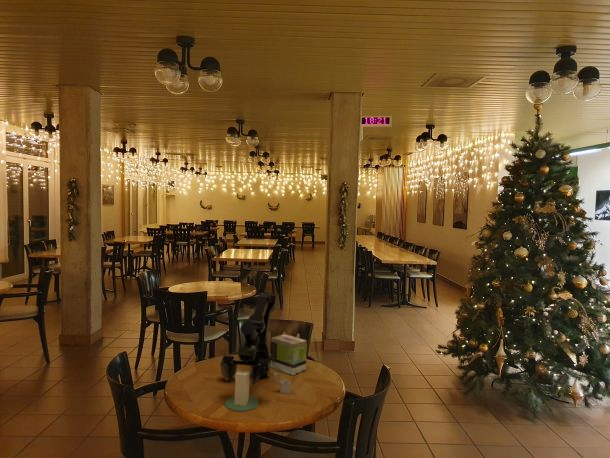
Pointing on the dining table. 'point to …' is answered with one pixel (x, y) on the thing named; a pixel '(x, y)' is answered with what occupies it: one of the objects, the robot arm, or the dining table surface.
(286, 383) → the lighter
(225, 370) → the dark grey rounded piece
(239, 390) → the cream block
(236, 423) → the dining table surface
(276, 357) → the tea box
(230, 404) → the green mat
